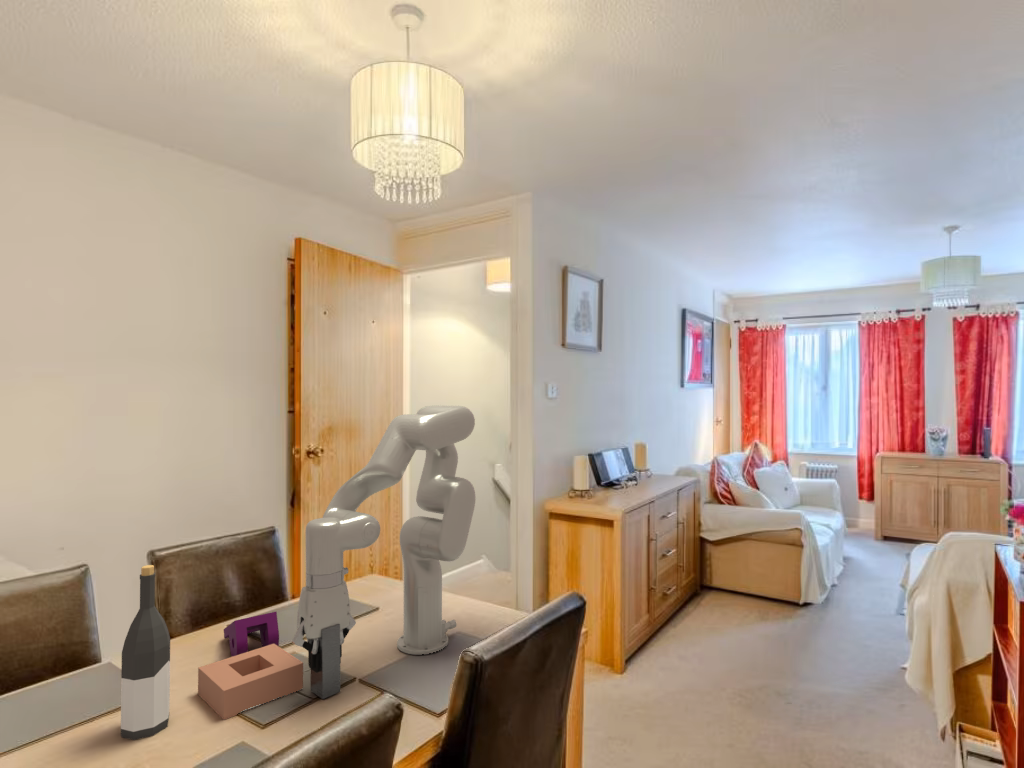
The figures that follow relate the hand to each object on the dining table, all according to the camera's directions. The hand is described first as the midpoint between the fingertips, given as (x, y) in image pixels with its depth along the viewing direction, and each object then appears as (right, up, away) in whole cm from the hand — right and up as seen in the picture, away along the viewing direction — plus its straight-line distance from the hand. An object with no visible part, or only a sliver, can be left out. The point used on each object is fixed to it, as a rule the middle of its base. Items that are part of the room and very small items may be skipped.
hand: (325, 665), depth 120 cm
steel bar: (0, -5, 0) cm, 5 cm away
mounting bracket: (-27, -7, +23) cm, 36 cm away
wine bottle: (-30, -6, -13) cm, 33 cm away
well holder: (-16, -6, +1) cm, 17 cm away
